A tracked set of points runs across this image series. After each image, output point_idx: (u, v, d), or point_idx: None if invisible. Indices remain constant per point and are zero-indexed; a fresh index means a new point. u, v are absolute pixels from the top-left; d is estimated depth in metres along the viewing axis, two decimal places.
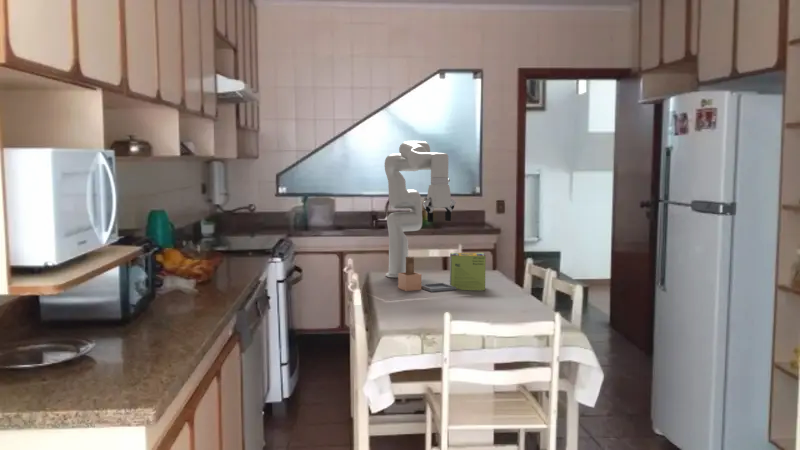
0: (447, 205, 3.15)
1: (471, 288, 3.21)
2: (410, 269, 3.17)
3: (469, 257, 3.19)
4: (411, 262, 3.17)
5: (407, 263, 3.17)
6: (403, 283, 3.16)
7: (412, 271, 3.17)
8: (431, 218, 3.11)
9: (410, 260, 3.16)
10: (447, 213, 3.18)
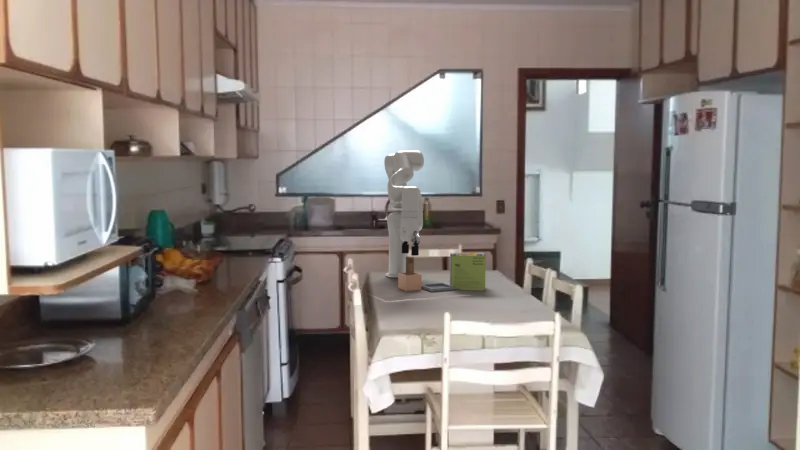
0: None
1: (471, 288, 3.21)
2: (410, 269, 3.17)
3: (469, 257, 3.19)
4: (411, 262, 3.17)
5: (407, 263, 3.17)
6: (403, 283, 3.16)
7: (412, 271, 3.17)
8: None
9: (410, 260, 3.16)
10: (405, 246, 3.21)
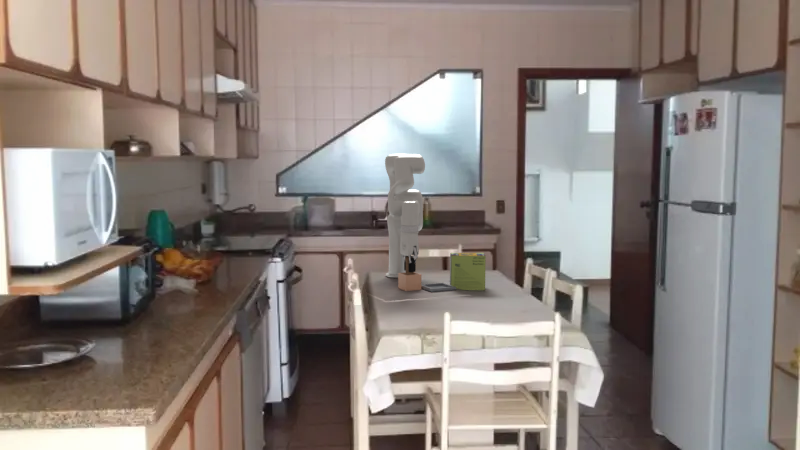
0: None
1: (471, 288, 3.21)
2: None
3: (469, 257, 3.19)
4: None
5: (407, 263, 3.17)
6: (403, 283, 3.16)
7: None
8: None
9: None
10: None
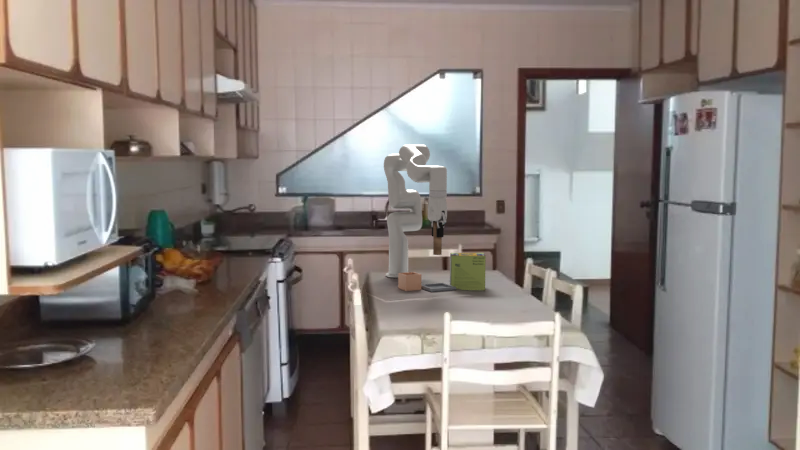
0: None
1: (471, 288, 3.21)
2: None
3: (469, 257, 3.19)
4: None
5: (435, 228, 3.15)
6: (403, 283, 3.16)
7: None
8: None
9: None
10: None
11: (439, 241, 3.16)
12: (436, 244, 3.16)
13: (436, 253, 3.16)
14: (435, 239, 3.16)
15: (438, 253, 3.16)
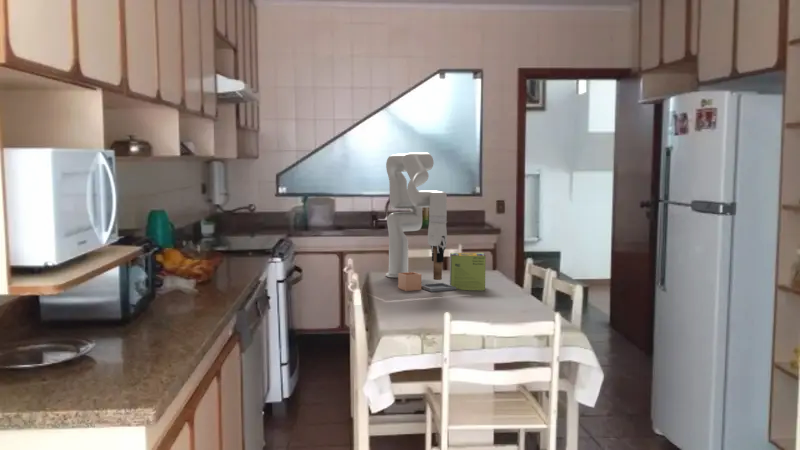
0: None
1: (471, 288, 3.21)
2: None
3: (469, 257, 3.19)
4: None
5: (435, 253, 3.16)
6: (403, 283, 3.16)
7: None
8: None
9: None
10: None
11: (439, 266, 3.17)
12: (436, 269, 3.17)
13: (436, 278, 3.17)
14: (435, 264, 3.17)
15: (438, 278, 3.17)
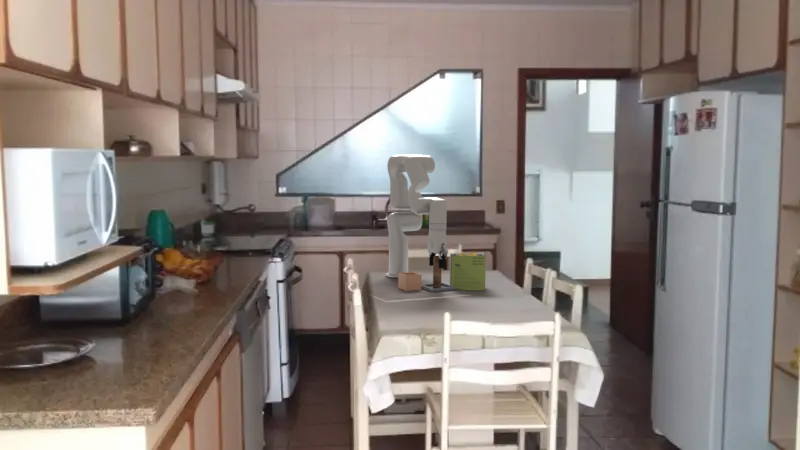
0: None
1: (471, 288, 3.21)
2: (438, 268, 3.17)
3: (469, 257, 3.19)
4: None
5: (435, 262, 3.17)
6: (403, 283, 3.16)
7: (439, 270, 3.17)
8: (444, 264, 3.15)
9: (438, 259, 3.17)
10: None
11: (439, 275, 3.17)
12: (436, 278, 3.17)
13: (436, 287, 3.18)
14: (435, 273, 3.17)
15: (438, 287, 3.18)
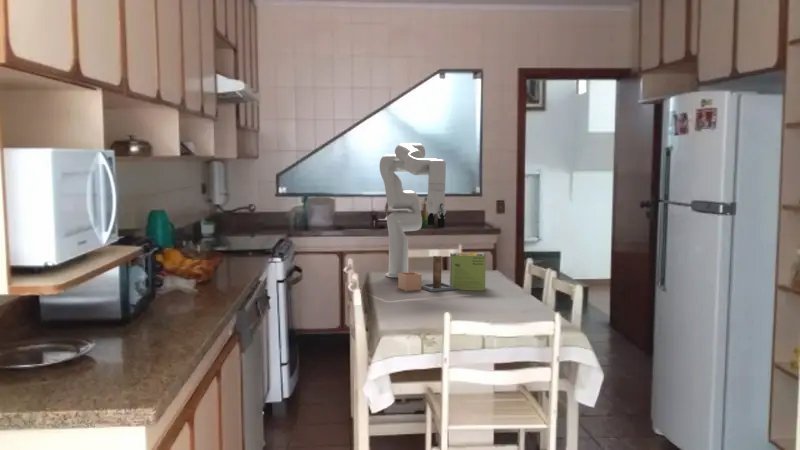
0: None
1: (471, 288, 3.21)
2: (437, 268, 3.17)
3: (469, 257, 3.19)
4: (439, 261, 3.17)
5: (435, 262, 3.17)
6: (403, 283, 3.16)
7: (439, 270, 3.17)
8: (443, 224, 3.19)
9: (438, 259, 3.17)
10: (431, 217, 3.27)
11: (439, 275, 3.17)
12: (436, 278, 3.17)
13: (436, 287, 3.18)
14: (435, 273, 3.17)
15: (438, 287, 3.18)
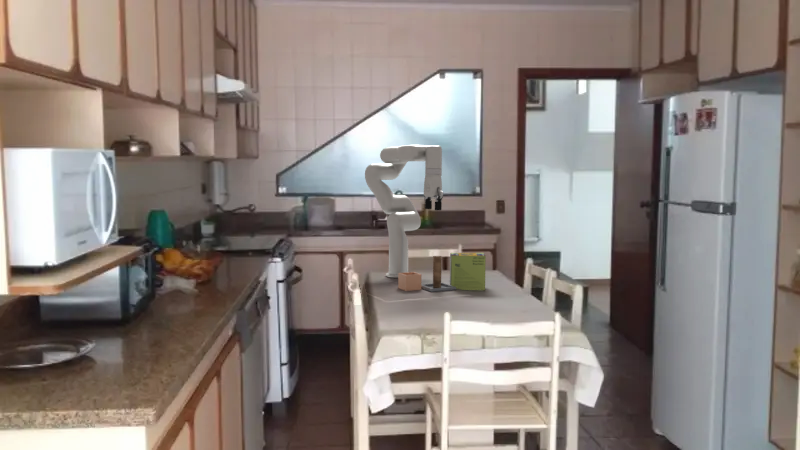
0: None
1: (471, 288, 3.21)
2: (437, 268, 3.17)
3: (469, 257, 3.19)
4: (439, 261, 3.17)
5: (435, 262, 3.17)
6: (403, 283, 3.16)
7: (439, 270, 3.17)
8: None
9: (438, 259, 3.17)
10: (429, 202, 3.39)
11: (439, 275, 3.17)
12: (436, 278, 3.17)
13: (436, 287, 3.18)
14: (435, 273, 3.17)
15: (438, 287, 3.18)
